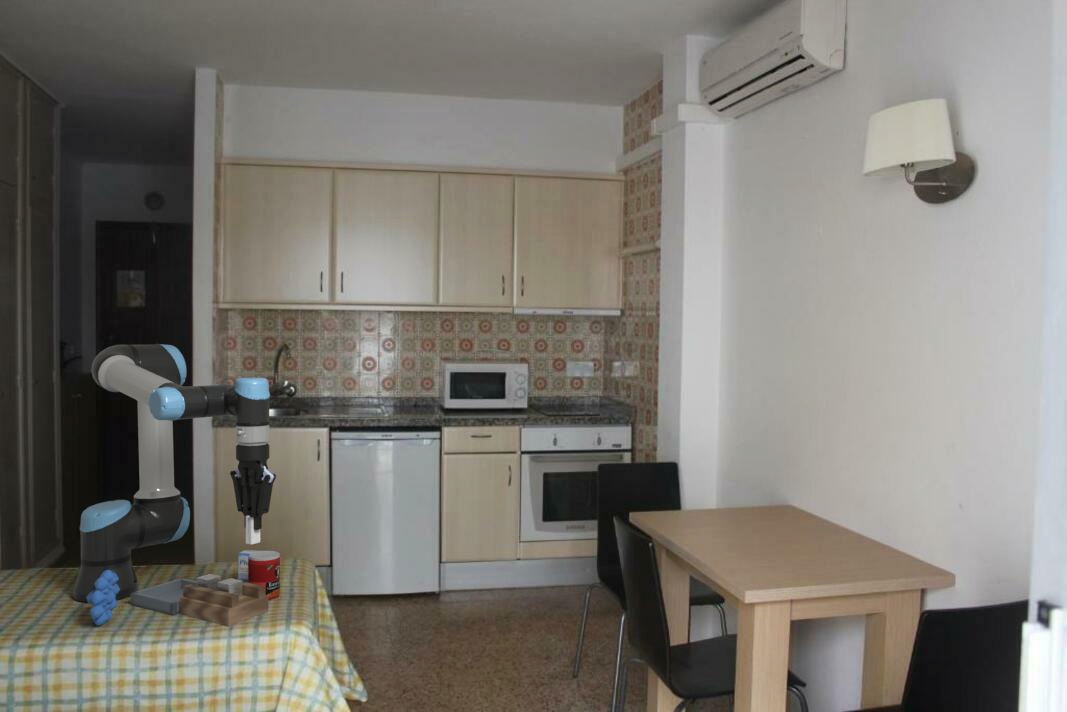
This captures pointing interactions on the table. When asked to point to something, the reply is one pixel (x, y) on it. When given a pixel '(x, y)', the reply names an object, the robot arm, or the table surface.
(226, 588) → the grey cube
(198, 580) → the grey stone cube
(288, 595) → the table surface
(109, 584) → the grapes
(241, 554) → the medicine box
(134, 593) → the tray
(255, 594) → the slot block
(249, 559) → the canned food
